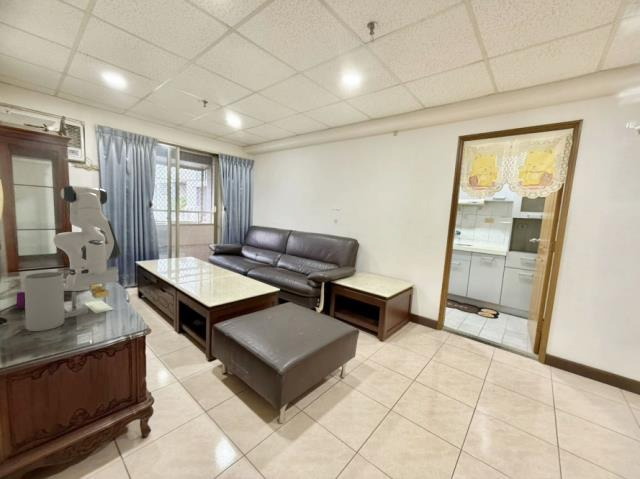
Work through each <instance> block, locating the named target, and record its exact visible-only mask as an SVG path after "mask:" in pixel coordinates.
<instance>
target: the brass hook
mask: <svg viewBox="0 0 640 479" xmlns="http://www.w3.org/2000/svg"><path fill="white" fill-rule="evenodd" d="M101 286H102V285H100V284H99V285H98V284H96V285H92V287H91V288H92V289H95V291H92V293H91V297H93V298H94V299H100V298H106V297H110V290H108V289H106V288H103V289H102V287H101Z"/></svg>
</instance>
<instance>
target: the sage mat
mask: <svg viewBox="0 0 640 479" xmlns="http://www.w3.org/2000/svg"><path fill="white" fill-rule="evenodd" d="M83 305H85V306H86V307H87V308H88V310H89V309H90V310H91V311H92V313H94V314H95V315H96V314H100V313H104V312H109V311H114V308H113V307H111V306H110V305H109V304H108V303H106V302H104V301H103V300H102V299H100V300H96V301H95V300H94V301H90V302H89V301H88V302H84V303H83Z"/></svg>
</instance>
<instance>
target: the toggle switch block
mask: <svg viewBox="0 0 640 479" xmlns="http://www.w3.org/2000/svg"><path fill="white" fill-rule="evenodd" d="M86 314H87V315H88V314H89V308H88V307H87V306H86V305H85V304H84V303H82V302H81V301H80V300H79V299H77V291H71V300H69V301H68V300H67V301H64V319H68V318H73V317H77V316H82V315H86Z"/></svg>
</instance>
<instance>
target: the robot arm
mask: <svg viewBox="0 0 640 479" xmlns="http://www.w3.org/2000/svg"><path fill="white" fill-rule="evenodd" d="M60 197H61V199H62V201H64V202H66V203H69V204H70V208H69V210H70V211H69V222H70V224H71V225H72V226H74V227H77V228H79V229H81V231H66V232H59V233H57V234H55V236H54V237H53V244H54V246H55V247H56V248H58V249H60V250H61V251H63V252H64V253H65V254H66V255H67V257H68V260H69V261H68V262H69V269H68V275H67V276H66V278H64V292H67V291H68V292H80V291H87V290H89V292H90V293H91V294H92V291H95V289H92V288H91V287H92V285H96V284H98V285H99V286H101V287H102V289H105V287H106V285H107V284H108V283H109V284H110V283H116V282H118V281H119V268H118V267H117V266H108V265H107V260H108V261H109V260H110V261H111V260H112V261H115V260H117V259H118V258H119V257H120V256H121V253H122V252H121V247H120V245H119V244H118V243H119V242H118V240H117V238H116V234H115V231H114V228H113V225H112V222H111V221H110V219H108V218H106V217H105V216H104V214H103V209H102V208H103V207H102V205H105V204H107V201H108V199H109V195H108V192H107V190H105V189H103V188H96V187H91V186H80V185H79V186H77V185H64V186H63V187H62V188H61V191H60ZM96 228H97V229H96ZM98 229H100V230H102V231H103V232H104V233H105V235H104V233H102V232H101V231H99V230H98ZM106 240H107V243H105V242H106Z"/></svg>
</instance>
